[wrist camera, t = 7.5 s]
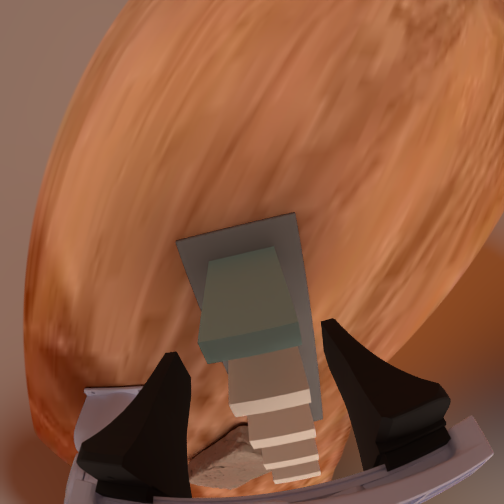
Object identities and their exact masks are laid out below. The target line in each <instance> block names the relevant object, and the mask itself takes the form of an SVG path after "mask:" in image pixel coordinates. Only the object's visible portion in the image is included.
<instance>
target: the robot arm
mask: <svg viewBox="0 0 504 504" xmlns="http://www.w3.org/2000/svg"><path fill="white" fill-rule="evenodd" d="M321 327H322V337H323V347H324V353H325V356H326V359H327V363H328V366H329V369H330V371H331V373H332V375H333V378H334V380H335V382H336V384H337V387H338V389H339V391H340V393H341V396H342V398H343V400H344V402H345V405H346V408H347V411H348V414H349V417H350V420H351V424H352V427H353V431H354V434H355V438H356V442H357V445H358V449H359V453H360V457H361V462H362V466H363V470H364V471H363V472H360V473H357V474H354V475H351V476H347V477H344V478H340V479H337V480H333V481H329V482H325V483H321V484H317V485H313V486H308V487H303V488H298V489H293V490H288V491H282V492H275V493H268V494H260V495H252V496H241V497H226V498H192V495H191V489H190V482H189V473H188V462H187V426H188V418H189V409H190V401H191V377H190V375H189V373H188V372H187V370H186V368H185V366H184V364H183V363H182V361H181V359H180V357H179V355H178V353H177V352H170V353H165V355H164V356H163V358H162V359H161V361H160V362H159V364H158V365H157V367H156V368H155V370H154V372H153V373H152V375H151V376H150V378H149V379H148V381H147V382H146V383H145V385H144V386H136V387H116V388H85V389H84V392H85V394H86V395H87V397H86V400H85V403H84V405H83V408H82V410H81V413H80V416H79V419H78V421H77V424H76V427H75V431H74V442H75V446H76V449H77V451H78V452H79V453H78V454H76V456H75V459H74V462H73V464H72V468H71V471H70V474H69V478H68V482H67V486H66V496H65V500H64V504H421V503H423V502H425V501H427V500H429V499H430V498H432V497H434V496H436V495H438V494H440V493H441V492H443V491H445V490H447V489H449V488H450V487H452V486H454V485H455V484H457V483H459V482H460V481H462V480H463V479H465V478H467V477H468V476H470V475H471V474H473V473H474V472H475V471H476V470H477V469H478V468H480V467H481V466H482V465H483V464H484V463H485V462H486V461H487V460H488V459H489V458H490V457H491V456H493V454H494V452H493V450H492V448H491V446H490V445H489V443H488V441H487V439H486V437H485V436H484V434H483V432H482V430H481V429H480V427H479V426H478V424H477V422H476V420H475V419H474V417H473V416H469V417H468V418H466V419H465V420H463V421H461V422H459V423H458V424H456V425H454V426H453V427H451V428H450V429H449V430H448V431H447V430H446V428H445V425H446V421H445V420H444V418H443V417H444V415H445V413H446V411H447V410H448V408H449V405H450V398H449V396H448V394H447V393H446V392H445V390H444V389H443V388H442V387H441V386H440V384H439V383H435V382H431V381H428V380H424V379H421V378H418V377H415V376H413V375H411V374H408V373H406V372H404V371H401V370H400V369H398V368H396V367H394V366H392V365H390V364H388V363H387V362H385V361H383V360H382V359H380V358H379V357H377V356H376V355H374V354H373V353H372V352H370V351H369V350H368V349H366V348H365V347H364V346H363V345H361V344H360V343H359V342H358V341H357V340H356V339H354V338H353V337H352V336H351V335H350V334H349V333H348V332H347V331H346V330H345V329H344V328H343V327H342V326H341V325H340V324H339V323H338V322H337V321H336V320H335V319H333V318H332V319H328V320H325V321H321Z"/></svg>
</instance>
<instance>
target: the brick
mask: <svg viewBox="0 0 504 504" xmlns="http://www.w3.org/2000/svg"><path fill="white" fill-rule="evenodd" d="M271 471H272V469H269V470H266V468H265V467H264V465H263V457H262V448H258V449H253V447H252V445H251V443H250V442H249V431H248V426H239V427H237V428H236V429H235V430H232V431H230V432H229V433H228V434H227V435H226V437H224V438H222V439H221V440H219V441H218V442H216V443H215V444H214V445H211V446H210V447H209V448H208V449H206V450H203V451H202V452H201V453H200V454H198V455H197V456H196V457H195V458H193V459H192V460H191V461H190V462H189V464H188V473H189V482H190V483H192V484H195V485H199V486H205V487H212V488H220V489H230V490H231V489H234V488H237V487H240V486H242V485H243V484H245V483H246V482H248V481H250V479H254V478H257V477H259V476H261V475H263V474H266V473H269V472H271Z"/></svg>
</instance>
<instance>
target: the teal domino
mask: <svg viewBox="0 0 504 504" xmlns="http://www.w3.org/2000/svg"><path fill="white" fill-rule="evenodd" d="M198 345H199V347H200V349H201V351H202V353H203V355H204V357H205V359H206V361H207V363H208V364H210V363H217V362H222V361H228V360H234V359H239V358H245V357H250V356H255V355H260V354H264V353H269V352H274V351H278V350H283V349H287V348H291V347H295V346H300V345H302V340H301V334H300V328H299V322H298V319H297V315H296V312H295V309H294V306H293V303H292V300H291V297H290V294H289V290H288V287H287V284H286V281H285V278H284V275H283V272H282V269H281V266H280V263H279V260H278V257H277V254H276V251H275V248H274V246H273V247H268V248H264V249H260V250H255V251H251V252H247V253H243V254H238V255H234V256H230V257H225V258H221V259H217V260H213V261H209V264H208V271H207V277H206V284H205V291H204V298H203V305H202V312H201V320H200V328H199V335H198Z"/></svg>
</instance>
